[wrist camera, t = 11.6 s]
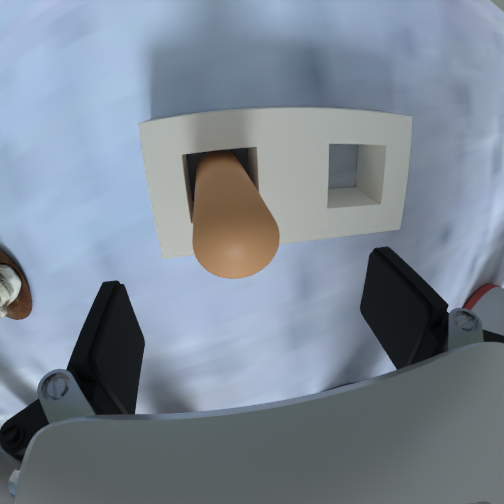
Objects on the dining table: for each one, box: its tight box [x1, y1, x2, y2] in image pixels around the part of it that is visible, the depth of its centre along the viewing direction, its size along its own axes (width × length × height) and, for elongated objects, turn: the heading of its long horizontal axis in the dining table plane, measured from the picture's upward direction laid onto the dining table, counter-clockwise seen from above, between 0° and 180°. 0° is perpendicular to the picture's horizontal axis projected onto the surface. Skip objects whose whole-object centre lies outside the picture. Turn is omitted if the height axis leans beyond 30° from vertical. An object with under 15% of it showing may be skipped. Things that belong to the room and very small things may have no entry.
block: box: [138, 106, 412, 259], centre depth 24 cm, size 22×11×5 cm, turn 93°
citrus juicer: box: [464, 284, 504, 336], centre depth 36 cm, size 16×17×20 cm
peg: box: [192, 150, 280, 279], centre depth 19 cm, size 4×4×14 cm
